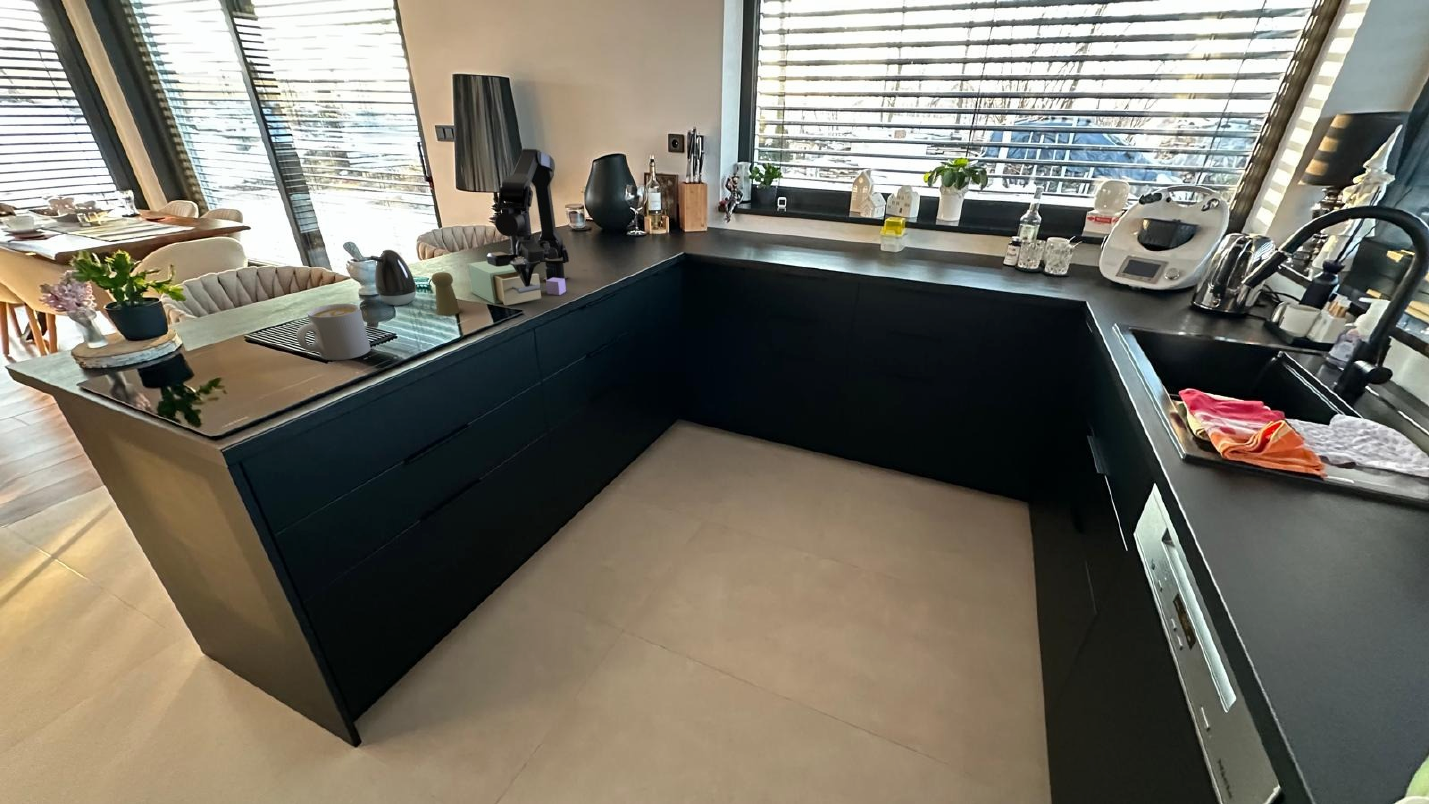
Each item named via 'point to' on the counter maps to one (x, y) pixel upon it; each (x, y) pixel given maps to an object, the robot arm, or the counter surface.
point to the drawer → (516, 288)
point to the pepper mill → (445, 294)
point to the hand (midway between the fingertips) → (527, 286)
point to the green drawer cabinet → (486, 279)
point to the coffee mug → (335, 332)
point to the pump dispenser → (393, 278)
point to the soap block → (556, 286)
